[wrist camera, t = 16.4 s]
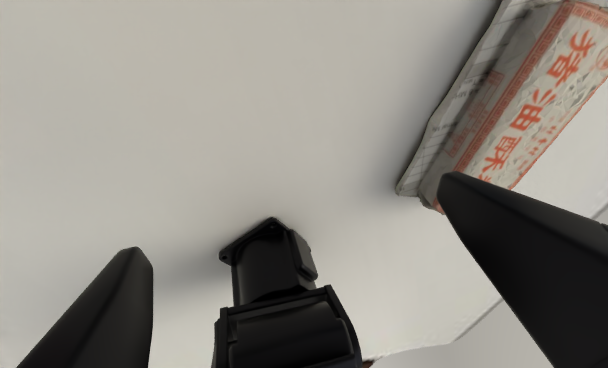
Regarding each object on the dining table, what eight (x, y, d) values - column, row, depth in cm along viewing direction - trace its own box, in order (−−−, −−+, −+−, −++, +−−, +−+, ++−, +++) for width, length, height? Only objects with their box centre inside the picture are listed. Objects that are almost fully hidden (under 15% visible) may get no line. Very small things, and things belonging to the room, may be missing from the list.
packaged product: (502, 227, 26) (419, 224, 23) (466, 194, 30) (390, 188, 26) (702, 8, 17) (612, -57, 13) (612, 0, 20) (523, -52, 17)
